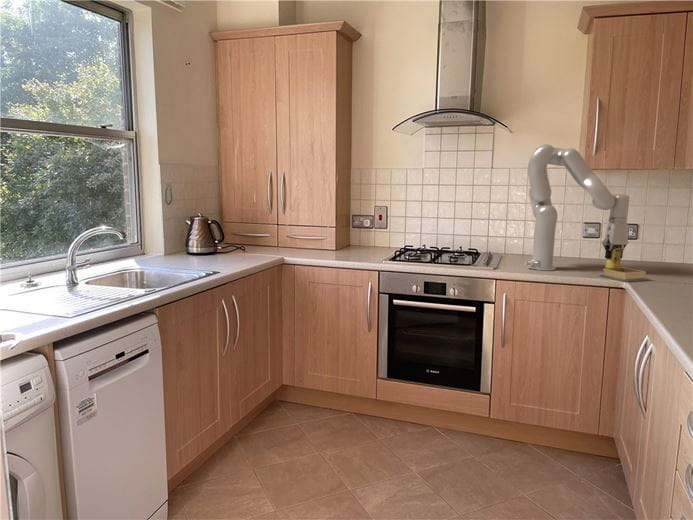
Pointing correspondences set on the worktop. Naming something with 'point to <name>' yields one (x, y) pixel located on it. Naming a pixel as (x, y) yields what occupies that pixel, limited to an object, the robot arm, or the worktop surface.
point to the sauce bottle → (614, 257)
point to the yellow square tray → (624, 274)
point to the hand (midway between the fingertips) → (613, 257)
